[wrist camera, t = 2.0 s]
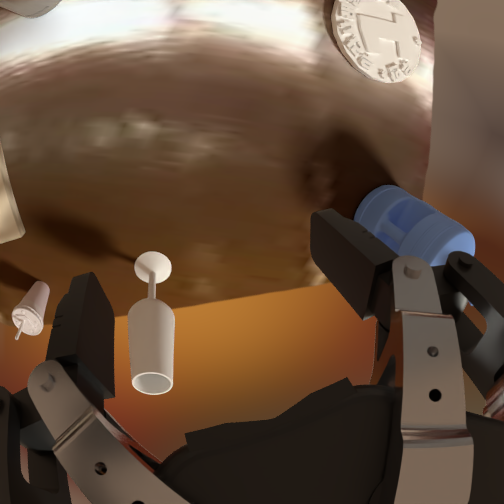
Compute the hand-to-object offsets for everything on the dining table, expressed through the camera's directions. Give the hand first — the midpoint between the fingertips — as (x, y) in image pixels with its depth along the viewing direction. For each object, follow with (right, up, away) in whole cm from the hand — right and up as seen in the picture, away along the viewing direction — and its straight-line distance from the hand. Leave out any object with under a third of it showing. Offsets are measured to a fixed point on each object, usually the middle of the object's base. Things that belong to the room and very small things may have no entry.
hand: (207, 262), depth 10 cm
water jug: (+29, +8, +46) cm, 55 cm away
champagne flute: (-16, -2, +38) cm, 42 cm away
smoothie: (-39, -7, +34) cm, 52 cm away
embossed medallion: (+24, +39, +26) cm, 53 cm away
